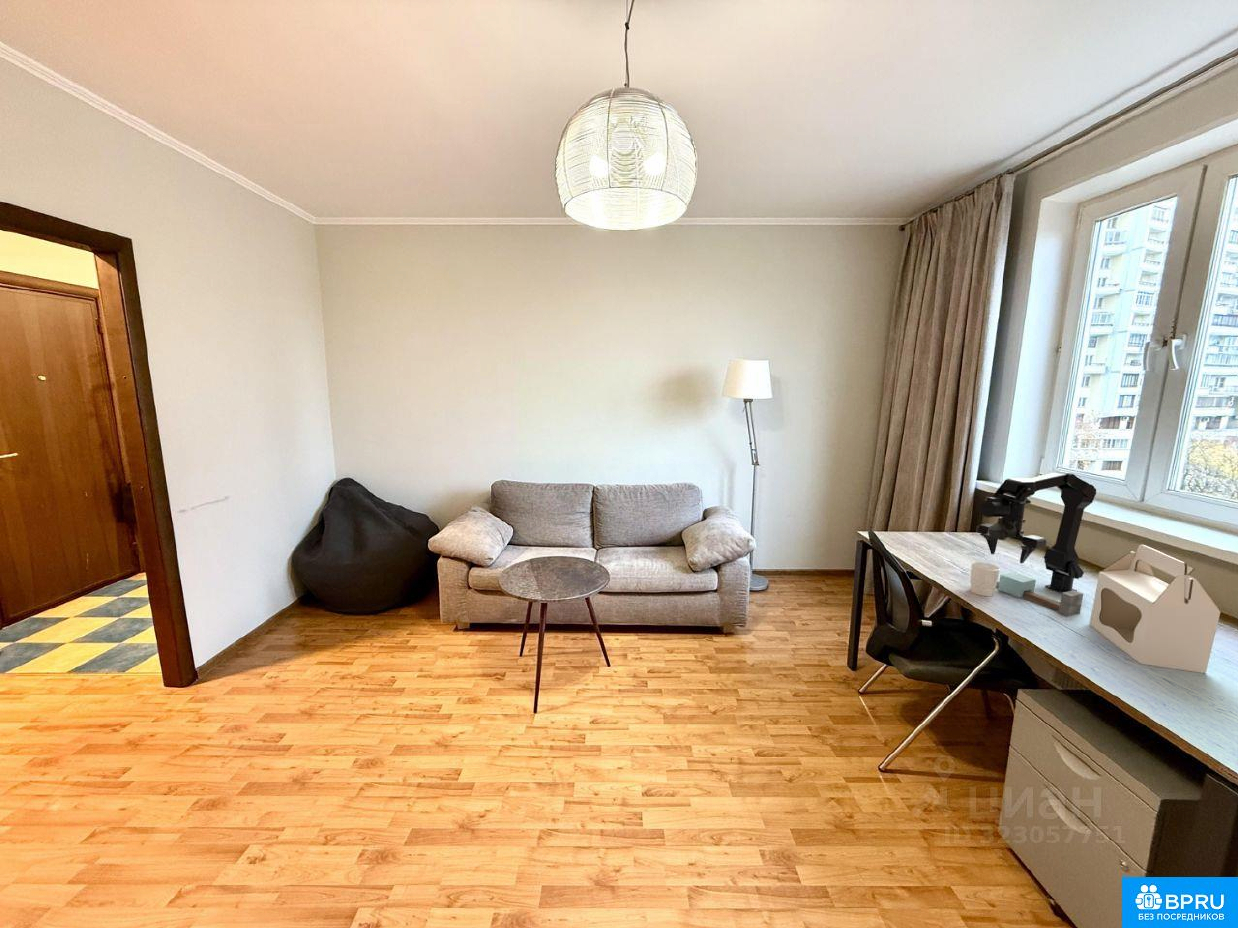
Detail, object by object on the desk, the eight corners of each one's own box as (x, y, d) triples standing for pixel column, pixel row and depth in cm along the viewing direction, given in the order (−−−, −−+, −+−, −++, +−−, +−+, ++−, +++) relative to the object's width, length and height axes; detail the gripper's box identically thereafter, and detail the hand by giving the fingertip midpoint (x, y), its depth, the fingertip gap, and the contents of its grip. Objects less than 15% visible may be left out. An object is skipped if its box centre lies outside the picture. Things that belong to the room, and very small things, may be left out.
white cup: (1000, 598, 162) (1005, 571, 160) (975, 596, 164) (979, 569, 162) (988, 588, 170) (991, 562, 168) (963, 586, 171) (967, 560, 169)
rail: (1004, 585, 172) (1007, 567, 171) (1079, 613, 151) (1083, 593, 150) (993, 587, 170) (995, 569, 169) (1067, 616, 149) (1071, 596, 148)
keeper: (1011, 586, 170) (1013, 572, 169) (1033, 594, 164) (1035, 579, 163) (998, 589, 168) (1000, 574, 167) (1019, 597, 162) (1022, 582, 161)
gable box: (1207, 674, 120) (1232, 571, 115) (1140, 664, 124) (1161, 564, 119) (1143, 631, 140) (1162, 542, 136) (1088, 624, 145) (1104, 538, 140)
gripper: (968, 511, 167) (963, 552, 170) (1028, 525, 150) (1021, 571, 152) (989, 508, 171) (984, 548, 173) (1050, 522, 153) (1043, 566, 156)
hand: (1006, 558), depth 164 cm, fingers open, 9 cm apart
